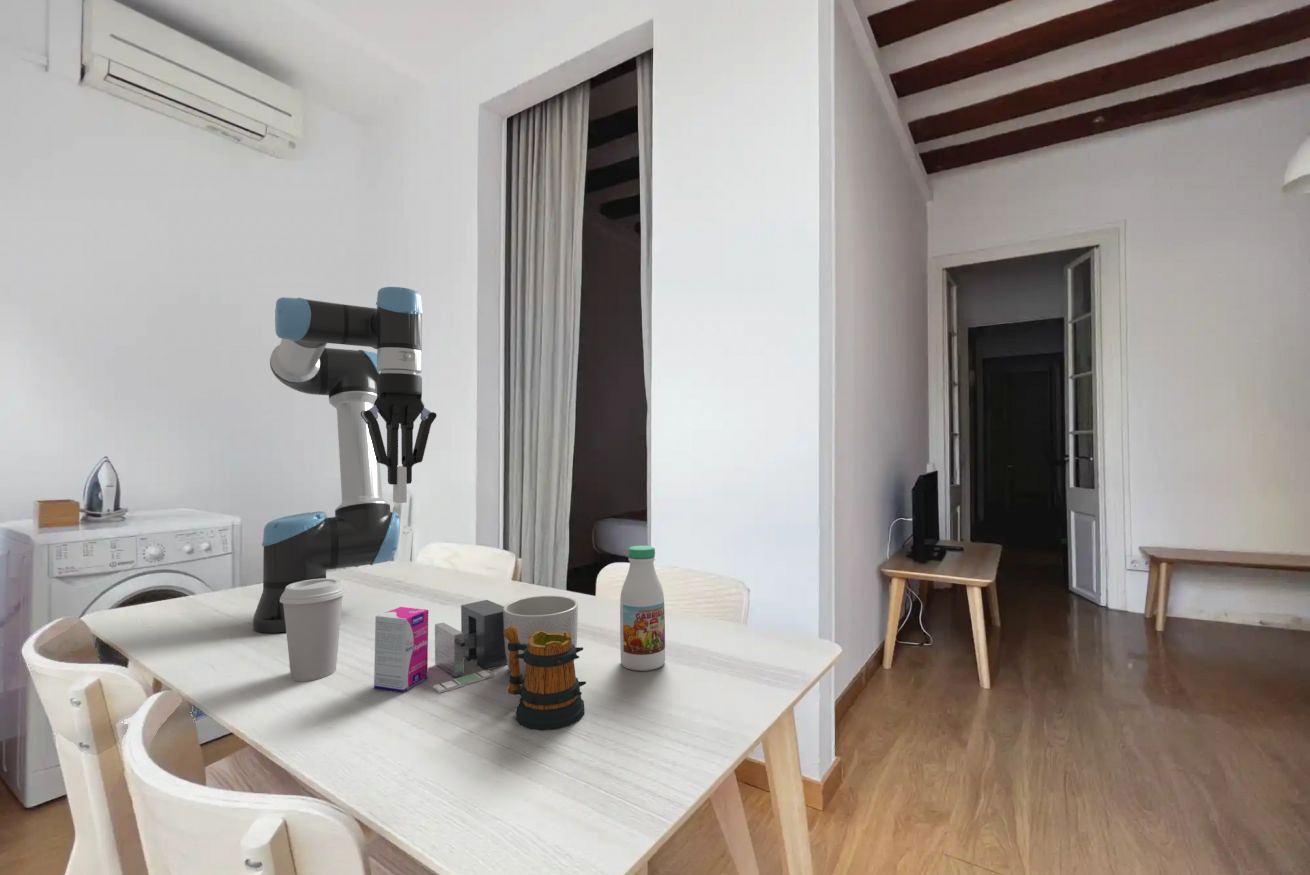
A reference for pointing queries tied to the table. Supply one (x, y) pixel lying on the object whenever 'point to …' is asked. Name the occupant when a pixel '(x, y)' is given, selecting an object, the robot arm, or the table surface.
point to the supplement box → (401, 649)
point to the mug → (545, 680)
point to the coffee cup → (313, 626)
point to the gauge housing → (484, 633)
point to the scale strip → (463, 681)
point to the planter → (540, 619)
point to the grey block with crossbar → (452, 648)
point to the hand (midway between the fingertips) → (399, 502)
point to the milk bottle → (642, 613)
